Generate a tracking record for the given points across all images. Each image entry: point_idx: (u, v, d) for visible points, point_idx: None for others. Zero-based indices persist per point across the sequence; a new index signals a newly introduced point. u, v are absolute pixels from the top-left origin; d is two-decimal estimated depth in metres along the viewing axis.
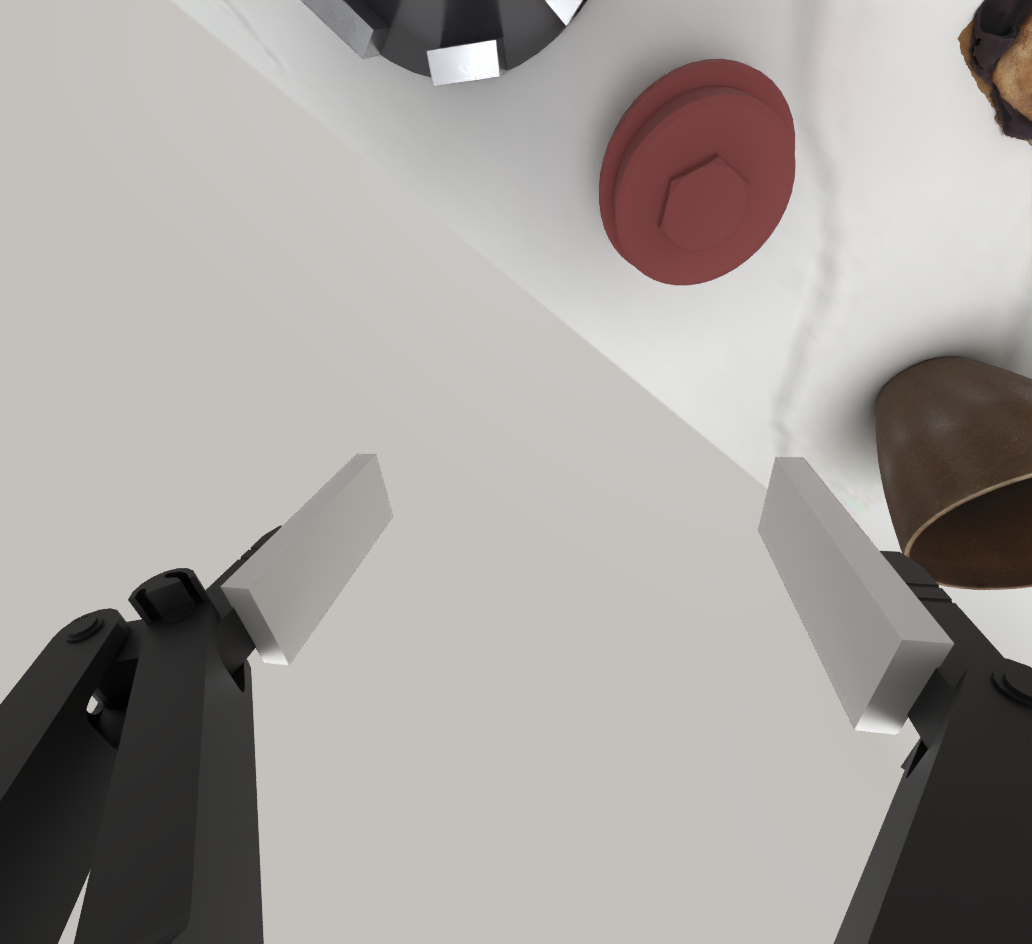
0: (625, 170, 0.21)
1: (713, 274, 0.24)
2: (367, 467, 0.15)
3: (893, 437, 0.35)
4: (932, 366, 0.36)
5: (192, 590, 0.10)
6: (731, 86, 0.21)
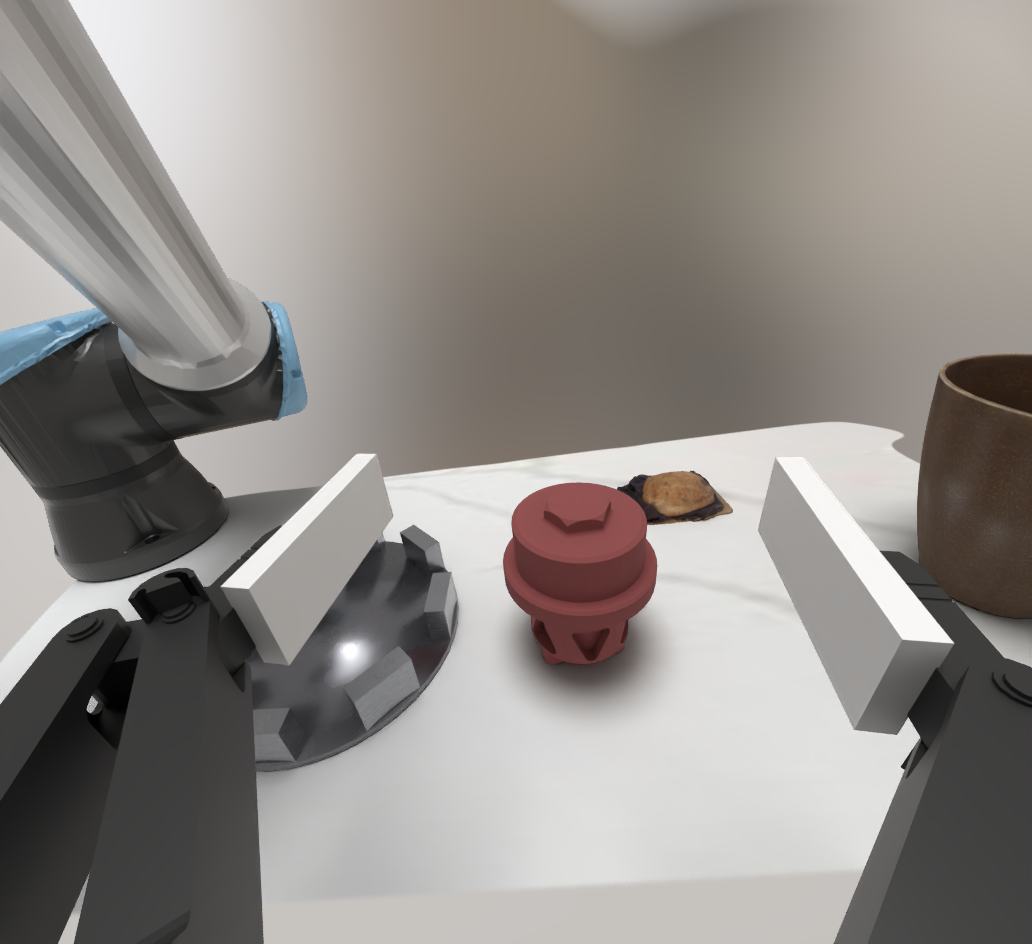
0: (516, 537, 0.26)
1: (639, 527, 0.26)
2: (367, 467, 0.15)
3: (1006, 543, 0.28)
4: (922, 559, 0.35)
5: (192, 589, 0.10)
6: None
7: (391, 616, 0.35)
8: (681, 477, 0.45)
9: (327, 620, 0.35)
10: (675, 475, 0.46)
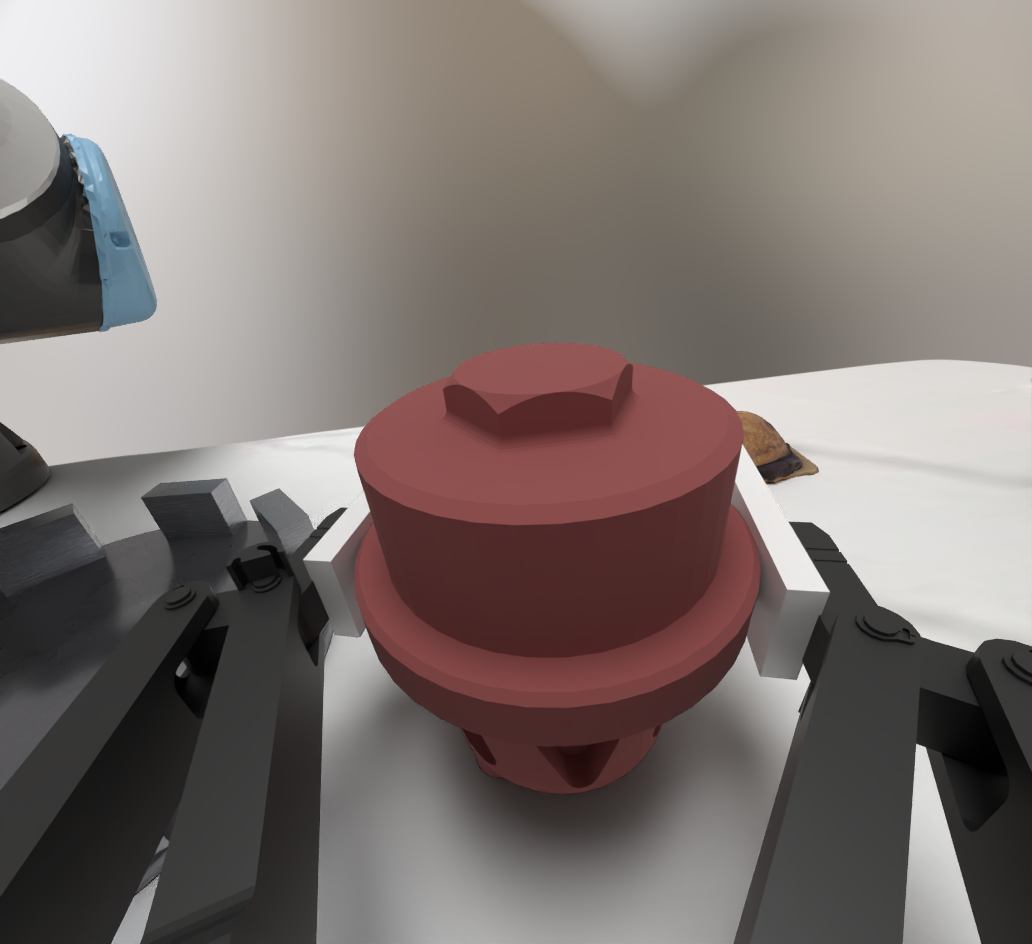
0: None
1: (724, 425, 0.08)
2: None
3: None
4: None
5: (280, 563, 0.10)
6: None
7: None
8: None
9: (70, 664, 0.18)
10: None
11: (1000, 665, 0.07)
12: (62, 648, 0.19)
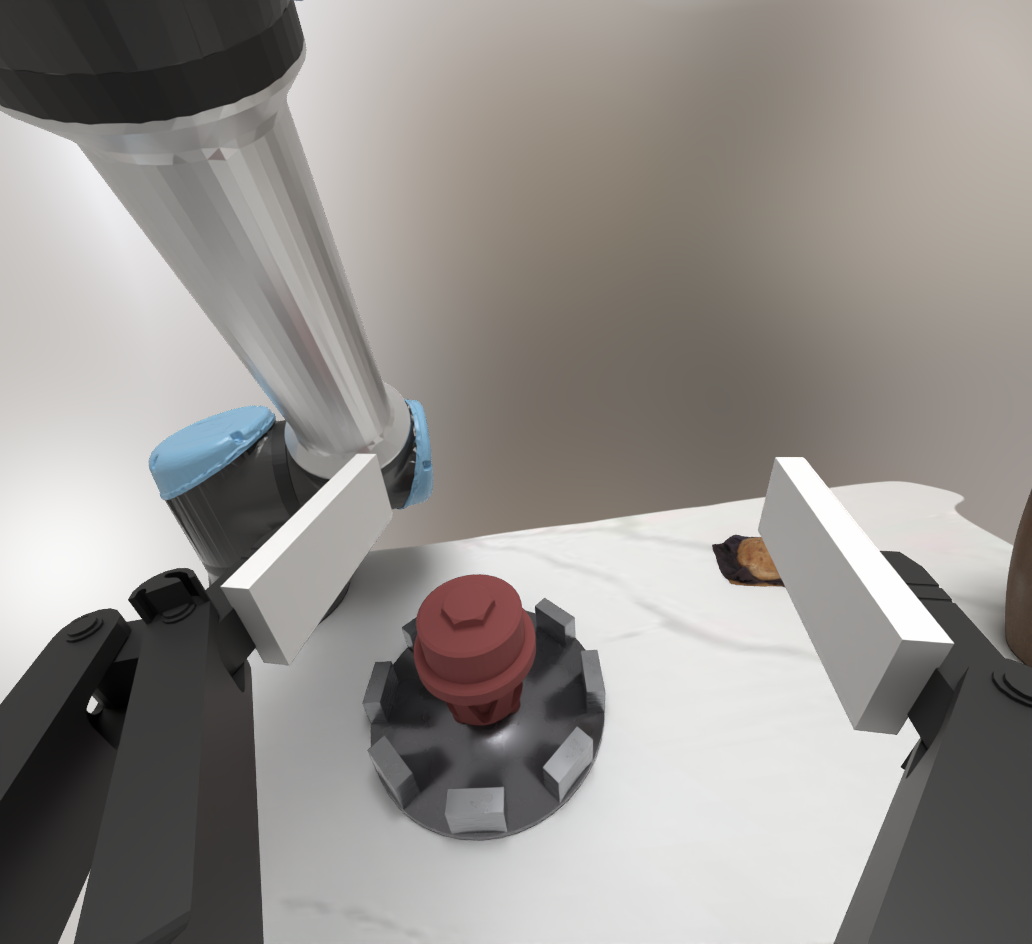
0: (417, 630, 0.33)
1: (512, 623, 0.33)
2: (367, 467, 0.15)
3: None
4: (1012, 638, 0.39)
5: (192, 590, 0.10)
6: None
7: (543, 688, 0.40)
8: None
9: None
10: None
11: None
12: None
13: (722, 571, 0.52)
